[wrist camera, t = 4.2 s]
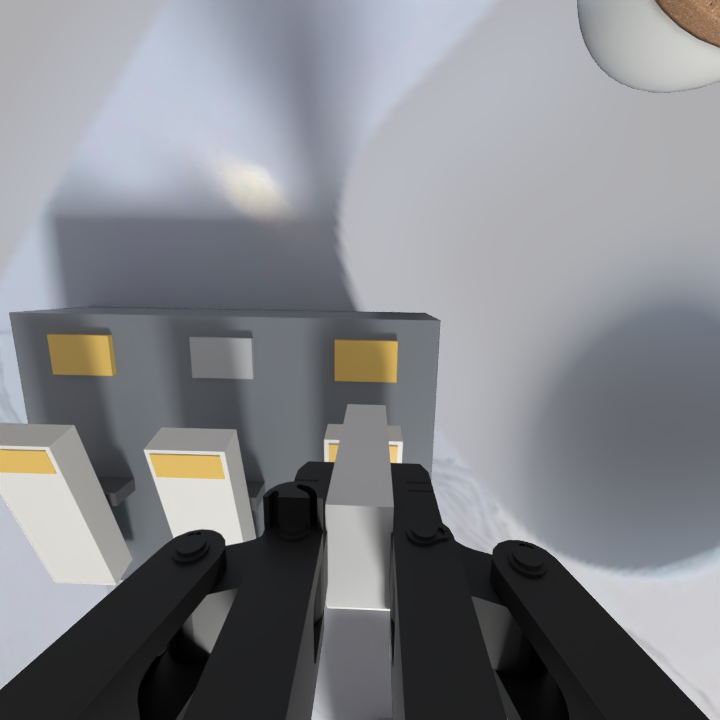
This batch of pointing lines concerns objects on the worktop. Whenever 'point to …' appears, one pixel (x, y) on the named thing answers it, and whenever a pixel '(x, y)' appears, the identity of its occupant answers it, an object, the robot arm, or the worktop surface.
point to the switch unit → (220, 390)
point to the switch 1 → (60, 504)
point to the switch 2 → (201, 481)
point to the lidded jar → (654, 42)
